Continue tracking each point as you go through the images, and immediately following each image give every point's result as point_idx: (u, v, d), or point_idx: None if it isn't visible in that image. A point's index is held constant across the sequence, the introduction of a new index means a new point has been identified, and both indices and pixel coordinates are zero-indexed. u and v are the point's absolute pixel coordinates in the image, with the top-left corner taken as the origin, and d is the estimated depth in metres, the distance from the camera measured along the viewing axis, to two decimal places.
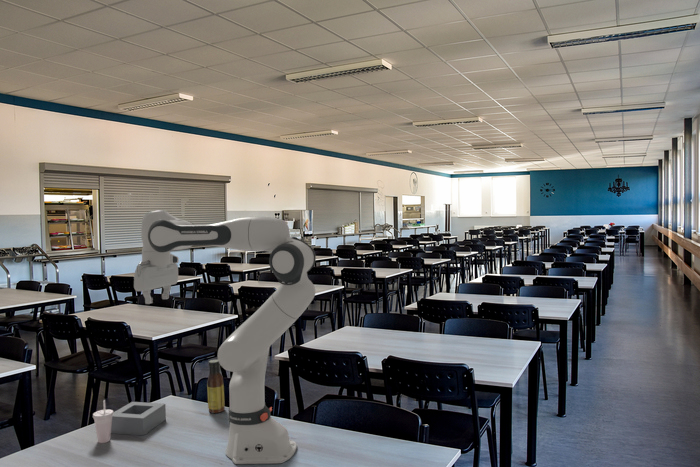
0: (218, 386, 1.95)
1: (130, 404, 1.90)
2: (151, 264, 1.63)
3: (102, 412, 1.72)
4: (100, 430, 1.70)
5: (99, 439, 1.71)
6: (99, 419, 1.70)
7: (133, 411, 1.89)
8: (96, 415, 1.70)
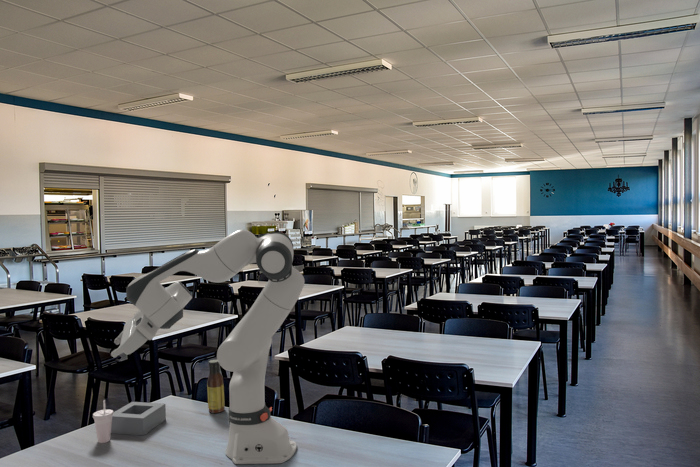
0: (218, 386, 1.95)
1: (130, 404, 1.90)
2: None
3: (102, 412, 1.72)
4: (100, 430, 1.70)
5: (99, 439, 1.71)
6: (99, 419, 1.70)
7: (133, 411, 1.89)
8: (96, 415, 1.70)
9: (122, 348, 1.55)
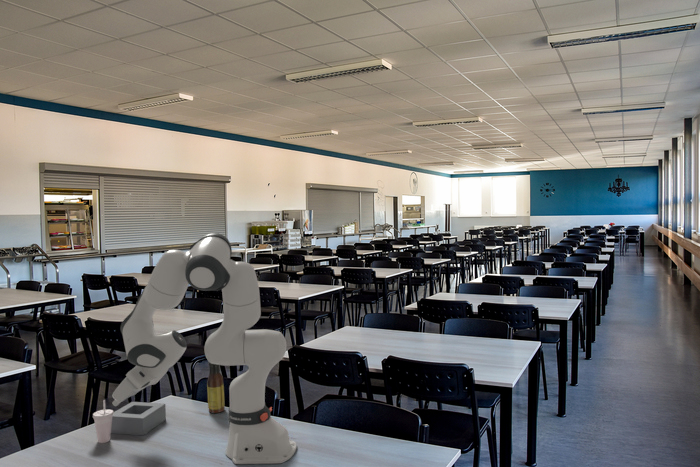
0: (218, 386, 1.95)
1: (130, 404, 1.90)
2: None
3: (102, 412, 1.72)
4: (100, 430, 1.70)
5: (99, 439, 1.71)
6: (99, 419, 1.70)
7: (133, 411, 1.89)
8: (96, 415, 1.70)
9: (113, 395, 1.59)
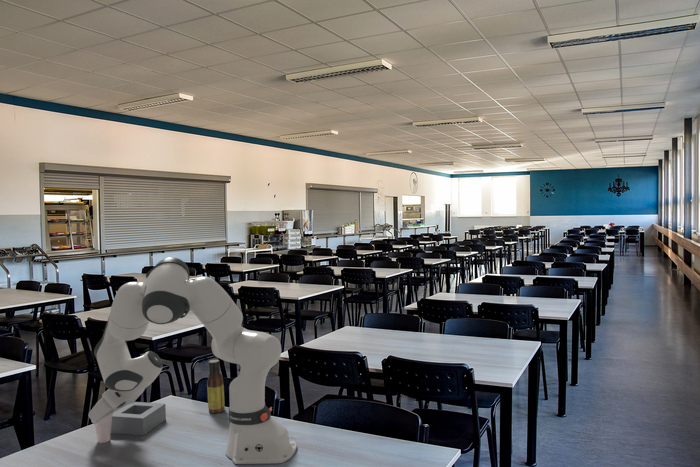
0: (218, 386, 1.95)
1: (130, 404, 1.90)
2: None
3: None
4: (100, 430, 1.70)
5: (99, 439, 1.71)
6: None
7: (133, 411, 1.89)
8: None
9: (89, 415, 1.62)
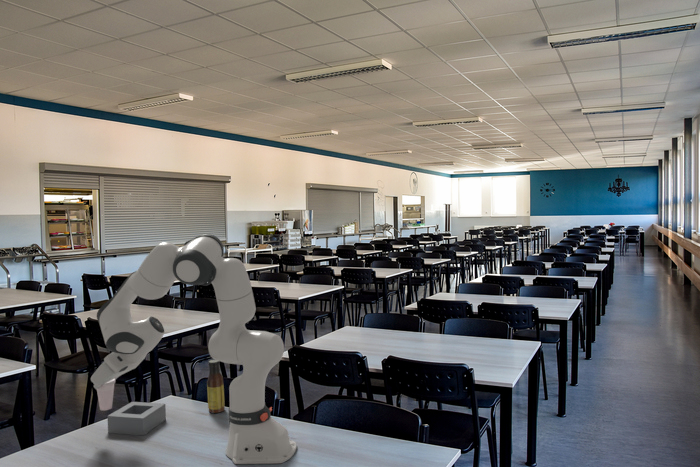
0: (218, 386, 1.95)
1: (130, 404, 1.90)
2: None
3: None
4: (102, 397, 1.71)
5: (101, 406, 1.72)
6: (101, 386, 1.70)
7: (133, 411, 1.89)
8: None
9: (91, 379, 1.63)
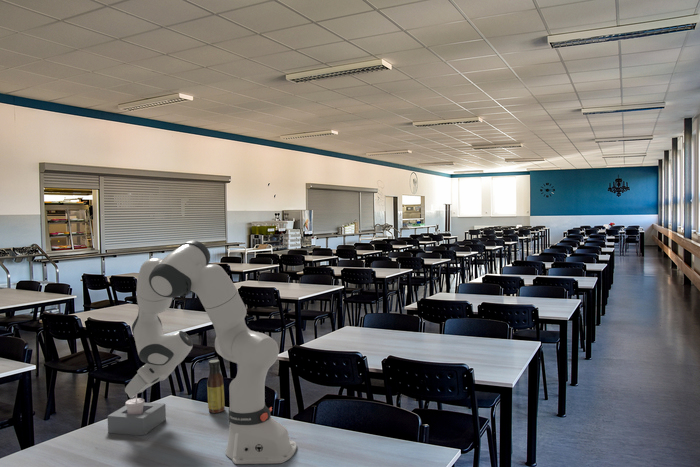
0: (218, 386, 1.95)
1: None
2: None
3: (134, 400, 1.83)
4: None
5: None
6: (132, 407, 1.80)
7: None
8: (129, 403, 1.81)
9: (125, 390, 1.74)
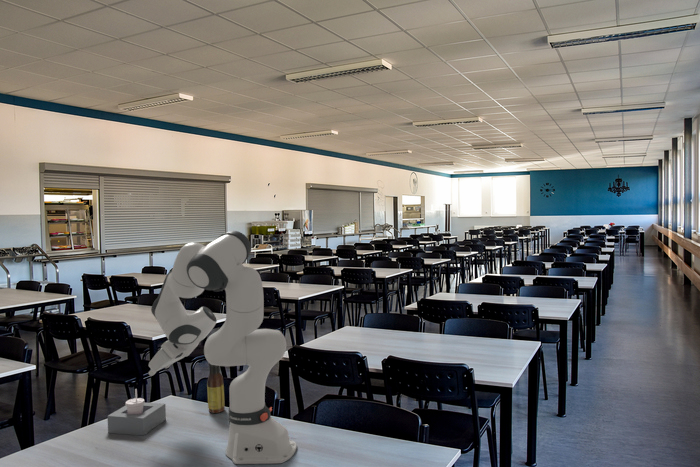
0: (218, 386, 1.95)
1: None
2: None
3: (134, 400, 1.83)
4: None
5: None
6: (132, 407, 1.80)
7: None
8: (129, 403, 1.81)
9: (149, 365, 1.72)
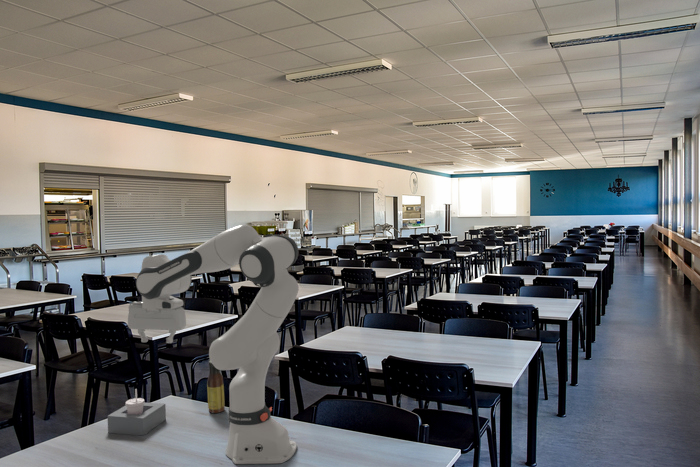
0: (218, 386, 1.95)
1: None
2: None
3: (134, 400, 1.83)
4: None
5: None
6: (132, 407, 1.80)
7: None
8: (129, 403, 1.81)
9: (181, 327, 1.70)
